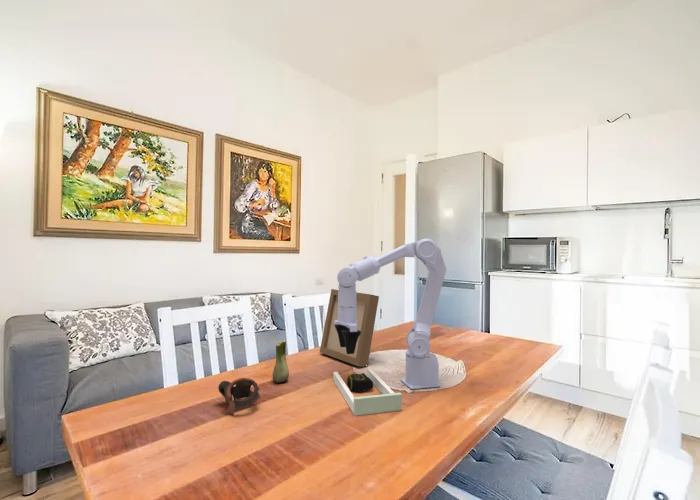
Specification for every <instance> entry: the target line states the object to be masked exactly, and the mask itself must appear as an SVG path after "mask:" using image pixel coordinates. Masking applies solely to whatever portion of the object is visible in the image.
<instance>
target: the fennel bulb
mask: <svg viewBox="0 0 700 500" xmlns="http://www.w3.org/2000/svg"><path fill="white" fill-rule="evenodd" d="M286 349H287V341H285V340H283V341H280V342H278V343H277V344H276V345H275V352H276V353H275V365H274V367H273V370H272V377H271V379H272V381H273V382H274V383H278V384H279V383H280V384H281V383H284V382H286V381H287V380H288V379H289V377H290V369H289V366H288V363H287V357H286Z"/></svg>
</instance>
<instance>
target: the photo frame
mask: <svg viewBox="0 0 700 500" xmlns="http://www.w3.org/2000/svg"><path fill="white" fill-rule="evenodd" d="M338 291H339V289H335V288H331V289H330V296H329V301H328V307H327V312H326V317H325V321H324V327H323V328H324V329H323V333H322V337H321V338H322V339H321V343H320V348H319V353H321V354H324V355H326V356H329V357H332V358H335V359H338V360H340V361H343V362H346V363H348V364H350V365H354V366H357V367H364V366H366V365H368V364H369V358H370V353H371V348H372V346H371V345H372V342H373V334H374V329H375V324H376V323H375V322H376V318H377V317H376V316H377V309H378V306H379V298H380V296H379V295H375V294H370V293H362V292H357V295H356V320H357V330H360V331H361V334H360V336H359V338H358V340H357V343H356V347H355V352H354V354H347V352H346V347H340V343H339V337H338V333H337V330H336V328H335V326H334V325H335V323H334V321H335V320H338ZM368 366H369V365H368Z"/></svg>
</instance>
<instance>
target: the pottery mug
mask: <svg viewBox="0 0 700 500" xmlns="http://www.w3.org/2000/svg"><path fill="white" fill-rule="evenodd" d="M252 386H253V390H251V389H252ZM217 387H218V392H219V393H220V394H221V396H223V398H224V400H225V403H227V404H228V406H227V407H228V408H227V413H228V414H230V415H232V416H233V415H234V414H235V412H237V413H238V412H240V411H243V410H247V409H248V408H251V407H252V405H254V404H256V402H257V401H258V400H261V396H260V393H259V391H260V390H261V389H260V387H259V386H258V383H257V382H256V381H255V380H254V379H251V378H249V377H239V378H236V379H234V380H232V381H229V380H223V381H221V382H220V383H219V384H218V386H217Z"/></svg>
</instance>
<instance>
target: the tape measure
mask: <svg viewBox="0 0 700 500" xmlns="http://www.w3.org/2000/svg"><path fill="white" fill-rule="evenodd" d="M346 386H347V387H348V389H349V390H350V391H354V392H364V391H365V392H366V391H369V390H372V389H373V388H374V384H373V382H372V380H371V379H370V378H368V375H366V373H364V372H362V373H351V374H350V375H348V376H347V380H346Z"/></svg>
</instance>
